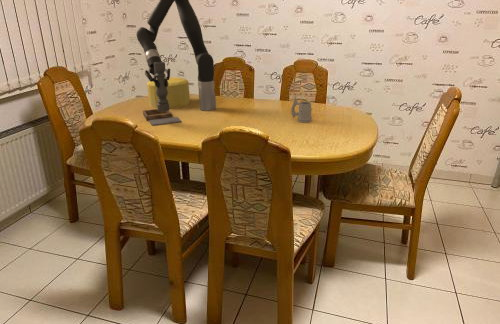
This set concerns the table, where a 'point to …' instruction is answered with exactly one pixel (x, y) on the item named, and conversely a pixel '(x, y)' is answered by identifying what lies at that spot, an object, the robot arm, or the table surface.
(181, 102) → the cheese
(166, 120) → the rubber mat
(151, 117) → the walnut frame
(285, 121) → the table surface
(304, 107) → the mug
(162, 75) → the candle holder
